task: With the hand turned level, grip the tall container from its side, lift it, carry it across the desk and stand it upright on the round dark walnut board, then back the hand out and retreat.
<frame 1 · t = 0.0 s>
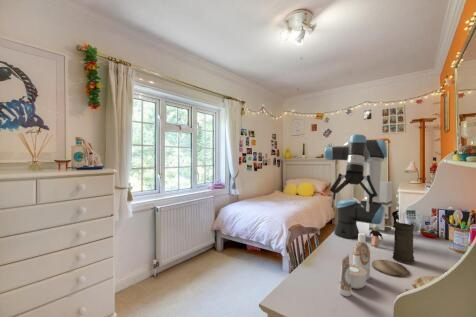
hand: (351, 209, 109), 28 cm above the table, tool tilted 20°, fingers open, 13 cm apart
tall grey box: (380, 230, 166), on the table
walnut board: (389, 268, 109), on the table
container: (403, 260, 119), on the table
cosmetic set: (353, 285, 95), on the table
grandmother figurine: (375, 246, 136), on the table
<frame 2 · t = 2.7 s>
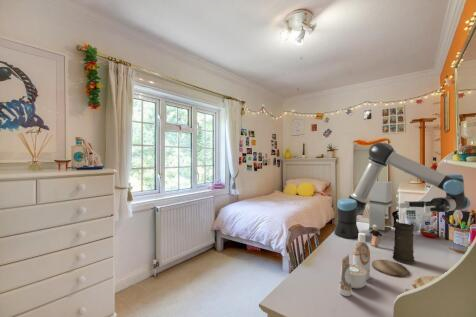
hand: (411, 207, 121), 26 cm above the table, tool horizontal, fingers open, 13 cm apart
nothing on the table moved.
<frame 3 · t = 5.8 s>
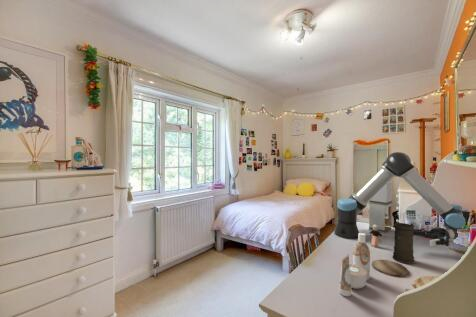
hand: (415, 238, 122), 10 cm above the table, tool horizontal, fingers open, 13 cm apart
nothing on the table moved.
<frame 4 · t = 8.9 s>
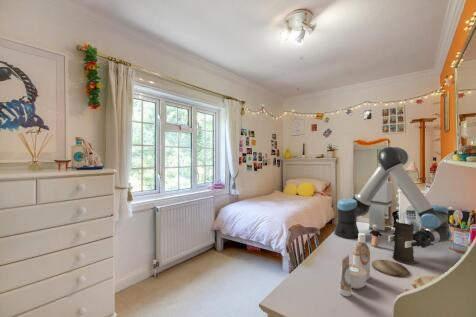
hand: (397, 241, 117), 10 cm above the table, tool horizontal, fingers closed on container, 8 cm apart
container: (403, 260, 119), on the table, touching gripper
everything else where it was.
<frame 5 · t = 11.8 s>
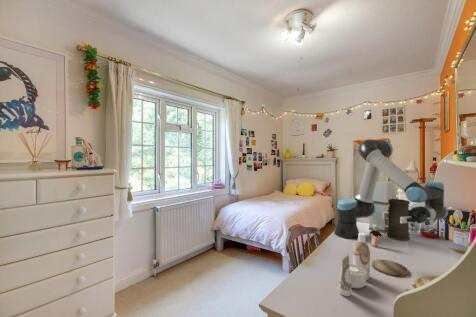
hand: (391, 217, 109), 24 cm above the table, tool horizontal, fingers closed on container, 8 cm apart
container: (398, 238, 111), point 14 cm above the table, touching gripper
everything else where it was.
when the fingers open (13 cm above the table, at t = 14.8 s): container drops 2 cm, resting on walnut board.
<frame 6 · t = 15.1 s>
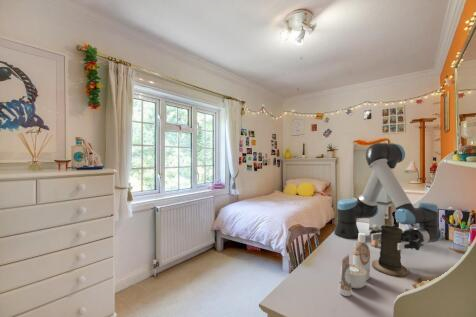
hand: (384, 241, 108), 13 cm above the table, tool horizontal, fingers open, 12 cm apart
container: (389, 266, 109), point 1 cm above the table, touching walnut board
everything else where it was.
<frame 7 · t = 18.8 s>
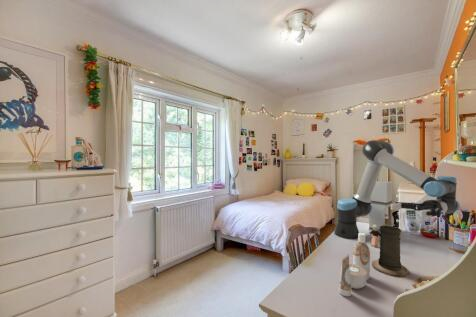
hand: (405, 210, 112), 27 cm above the table, tool horizontal, fingers open, 13 cm apart
nothing on the table moved.
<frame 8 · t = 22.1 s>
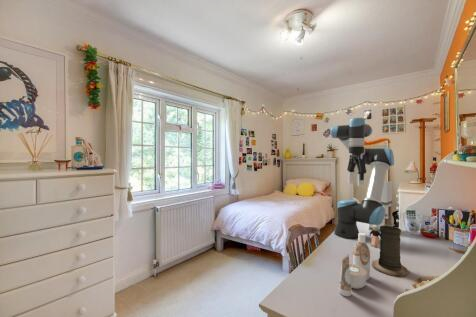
hand: (355, 184, 129), 37 cm above the table, tool pointing down, fingers open, 13 cm apart
nothing on the table moved.
at the end: container inside the target area on the walnut board (0.1 cm from its centre), point 1.0 cm above the walnut board's base; container tilted 0°; the gripper is holding nothing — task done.
